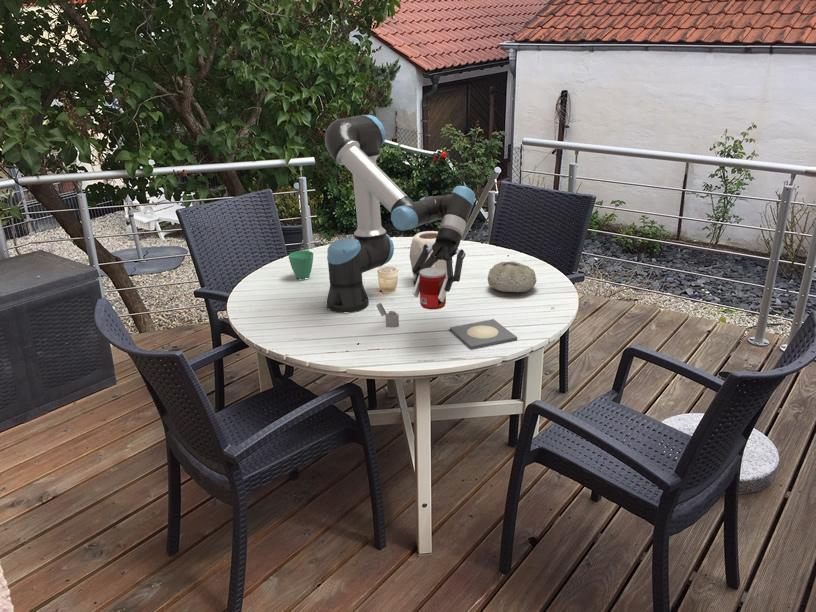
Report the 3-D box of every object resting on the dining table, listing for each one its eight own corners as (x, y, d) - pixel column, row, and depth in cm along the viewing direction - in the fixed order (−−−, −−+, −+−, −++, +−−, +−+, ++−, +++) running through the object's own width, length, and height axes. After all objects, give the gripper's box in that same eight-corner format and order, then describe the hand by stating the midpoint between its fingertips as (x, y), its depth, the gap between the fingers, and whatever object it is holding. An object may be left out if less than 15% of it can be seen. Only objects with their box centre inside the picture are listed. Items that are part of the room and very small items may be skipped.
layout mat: (470, 349, 209) (470, 346, 209) (449, 330, 223) (449, 327, 223) (517, 340, 214) (517, 336, 214) (493, 321, 228) (493, 318, 228)
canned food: (443, 310, 206) (443, 276, 202) (417, 309, 208) (417, 275, 204) (447, 301, 213) (447, 267, 209) (422, 300, 215) (421, 266, 211)
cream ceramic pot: (404, 294, 255) (402, 245, 248) (416, 270, 280) (415, 226, 273) (445, 295, 252) (445, 246, 246) (454, 271, 277) (454, 226, 270)
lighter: (399, 325, 228) (398, 303, 225) (397, 327, 227) (396, 305, 224) (378, 324, 230) (377, 302, 227) (377, 326, 228) (375, 304, 225)
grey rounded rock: (533, 281, 263) (534, 256, 259) (538, 298, 246) (539, 272, 243) (486, 282, 264) (486, 257, 261) (488, 299, 248) (488, 272, 244)
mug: (312, 282, 271) (309, 258, 268) (288, 282, 272) (285, 258, 269) (320, 270, 285) (318, 247, 281) (297, 270, 286) (295, 247, 282)
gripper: (484, 242, 212) (462, 308, 205) (425, 234, 221) (402, 297, 215) (478, 230, 205) (455, 298, 199) (417, 222, 215) (393, 287, 208)
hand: (427, 297), depth 207 cm, fingers closed on canned food, 8 cm apart
